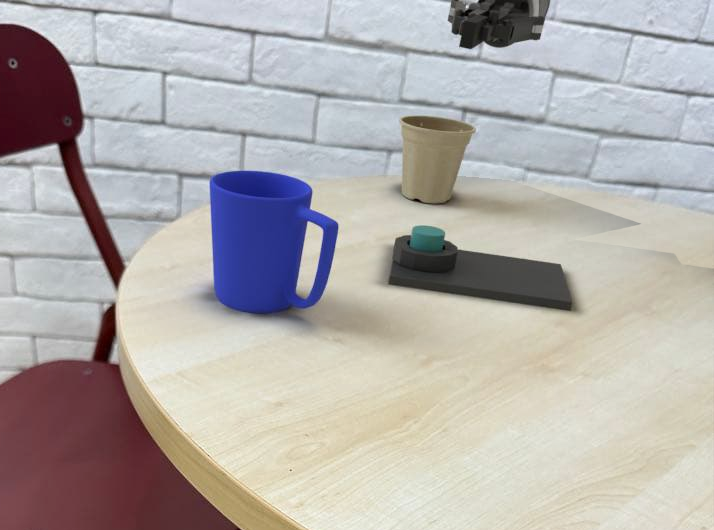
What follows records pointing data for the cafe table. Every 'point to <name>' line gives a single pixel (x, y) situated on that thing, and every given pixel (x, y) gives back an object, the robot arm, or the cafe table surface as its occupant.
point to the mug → (264, 240)
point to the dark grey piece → (479, 275)
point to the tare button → (427, 238)
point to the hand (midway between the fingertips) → (467, 35)
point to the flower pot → (432, 155)
